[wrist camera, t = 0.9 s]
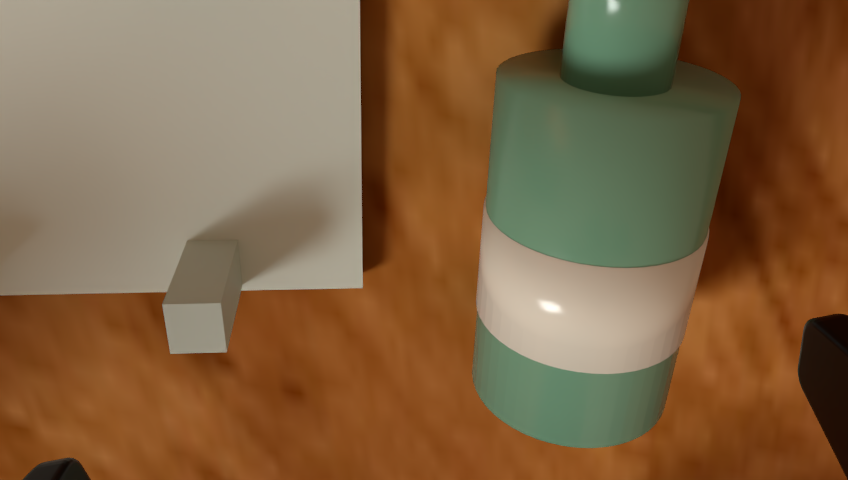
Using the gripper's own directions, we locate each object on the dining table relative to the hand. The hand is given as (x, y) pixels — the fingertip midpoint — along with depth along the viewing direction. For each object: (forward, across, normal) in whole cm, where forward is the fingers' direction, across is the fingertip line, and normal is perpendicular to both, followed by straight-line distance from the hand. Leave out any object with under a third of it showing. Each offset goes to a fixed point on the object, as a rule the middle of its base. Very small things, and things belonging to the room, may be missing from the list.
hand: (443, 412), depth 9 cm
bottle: (+13, -5, +2) cm, 14 cm away
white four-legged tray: (+13, +9, -1) cm, 15 cm away
